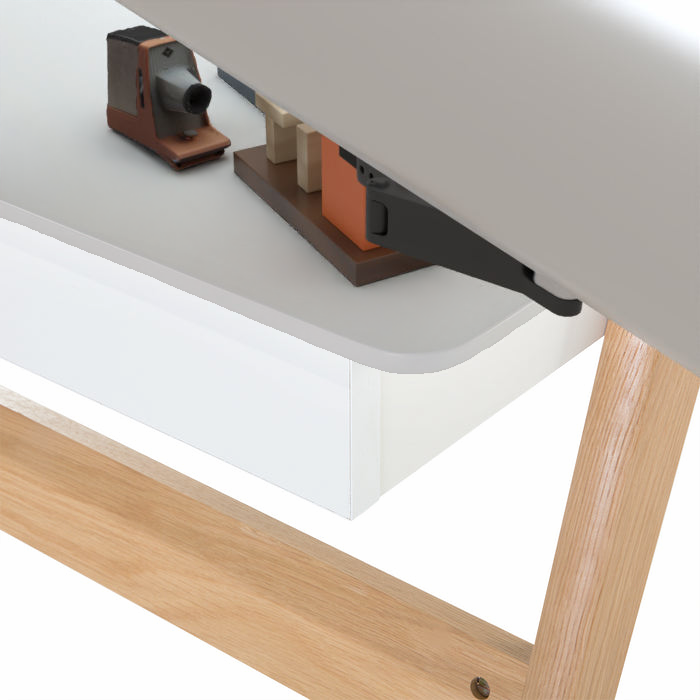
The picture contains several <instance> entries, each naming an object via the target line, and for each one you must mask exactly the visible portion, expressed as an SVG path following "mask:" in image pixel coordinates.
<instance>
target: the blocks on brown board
mask: <svg viewBox="0 0 700 700" xmlns="http://www.w3.org/2000/svg"><path fill="white" fill-rule="evenodd" d="M255 104H256V106H255V107H256V108H257V107H258V108H257V109H258V110H260V111H261V112H262V113H263V114H265V115H264V122H265V144H261V145H257V146H252V147H247V148H243V149H238V150H234V151H233V152H232V155H233V156H232V157H233V172H234V173H235V175H236V176H238V177H239V178H240V179H241V180H242V181H243V182H244V183H245V184H247V186H249V188H251V189H252V190H253V191H254V192H255V193H256V194H257V195H258V196H259V197H260V198H261V199H262V200H264V202H265V203H267V204H268V205H269V206H270V207H271V208H272V209H273V210H274V211H275V212H276V213H277V214H278V215H279V216H281V217H282V218H283V219H284V220H285V221H286V222H287V223H288V224H289V225H290V226H291V227H292V228H293V229H294V230H295V231H297V232H298V233H299V235H301V236H302V237H303V238H304V239H305V240H306V241H307V242H308V243H310V245H311V246H313V247H314V249H316V250H317V251H318V252H319V253H320V254H321V255H322V256H323V257H324V258H325V259H327V260H328V261H329V262H330V263H331V264H332V265H333V266H334V267H335V268H336V269H337V270H338V271H339V272H340V273H341V274H342V275H344V276H345V278H347V279H348V280H349V281H350V282H351V283H352V284H353V285H354V286H355V287H359V286H363V285H367V284H370V283H375V282H377V281H381V280H385V279H388V278H391V277H395V276H399V275H401V274H406V273H409V272H411V271H416V270H419V269H423V268H426V267H430V266H433V265H435V264H432V263H429V262H426V261H423V260H420V259H417V258H414V257H412V256H409V255H406V254H403V253H400V252H397V251H394V250H391V249H388V248H385V247H382V246H381V247H377V248H373V249H370V250H366V251H363V250H361V249H360V248H359V247H358V246H357V245H356V244H355V243H354V242H352V241H351V240H350V239H349V238H348V237H347V236H346V235H345V234H343V233H342V232H341V231H340V230H339V229H338V228H337V227H336V226H334V225H333V224H332V223H331V222H330V221H329V220H328V219H327V218H325V217H324V216H323V215H322V147H321V133H319V132H318V131H316V130H315V129H313V128H312V127H310V126H308V125H307V124H305V123H304V122H302V121H301V120H299V119H298V118H296V117H295V116H293V115H291V114H290V113H288V112H287V111H285V110H284V109H282V108H281V107H279V106H277V105H276V104H274V103H273V102H271V101H270V100H268V99H267V98H265V97H263V96H262V95H260V94H259V93H257V92H255Z"/></svg>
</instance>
